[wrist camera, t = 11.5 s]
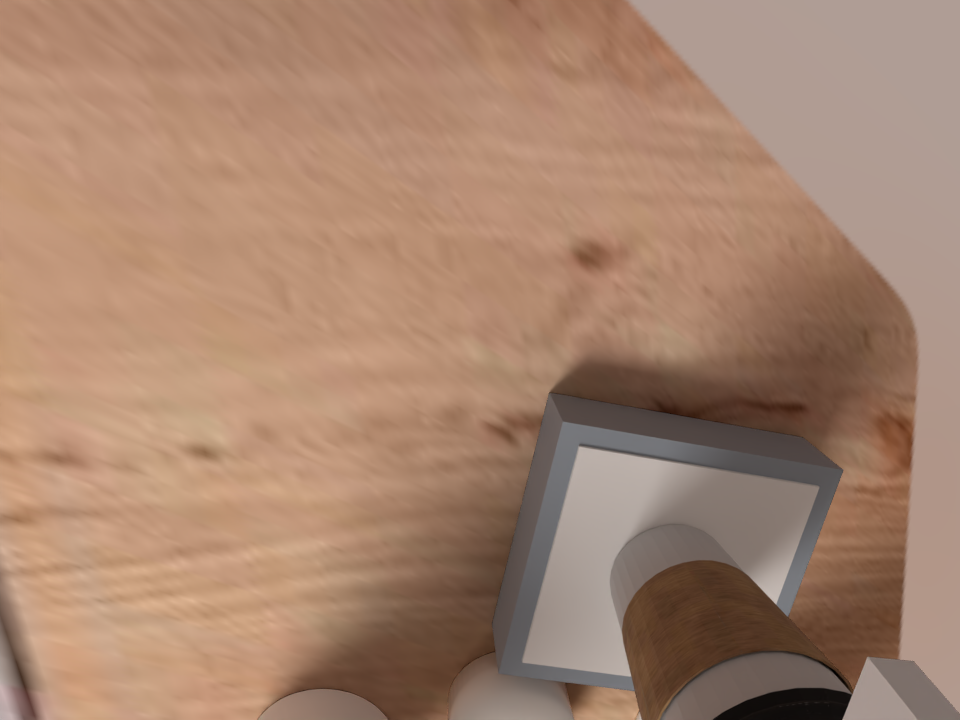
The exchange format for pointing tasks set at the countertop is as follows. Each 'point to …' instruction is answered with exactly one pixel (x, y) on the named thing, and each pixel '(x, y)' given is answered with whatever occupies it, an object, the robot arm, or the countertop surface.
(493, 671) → the white dome
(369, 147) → the countertop surface
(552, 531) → the podium
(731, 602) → the coffee cup
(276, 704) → the container
